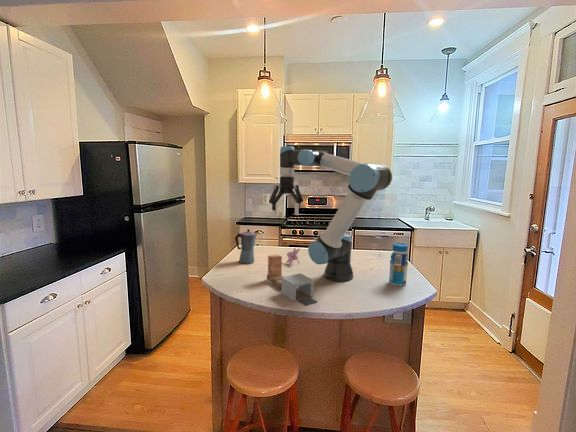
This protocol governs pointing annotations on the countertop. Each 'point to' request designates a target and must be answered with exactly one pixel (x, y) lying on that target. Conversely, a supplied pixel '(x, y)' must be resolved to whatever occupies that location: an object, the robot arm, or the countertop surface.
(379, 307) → the countertop surface
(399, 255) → the beverage bottle
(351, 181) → the robot arm
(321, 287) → the countertop surface
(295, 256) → the lily
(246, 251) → the moka pot
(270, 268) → the wooden pillar on base
